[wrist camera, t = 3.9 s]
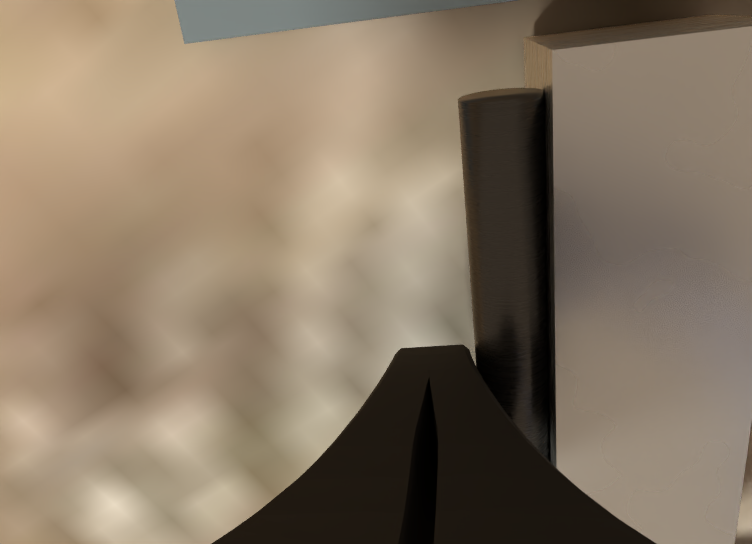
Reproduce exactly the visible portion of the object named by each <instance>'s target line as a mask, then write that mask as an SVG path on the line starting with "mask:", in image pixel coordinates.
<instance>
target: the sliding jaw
mask: <svg viewBox="0 0 752 544" xmlns="http://www.w3.org/2000/svg"><path fill="white" fill-rule="evenodd" d="M524 72H525V88H508V89H497V90H489V91H482V92H477V93H472V94H468V95H465V96H462V97H460V98H459V99H458V106H459V121H460V135H461V150H462V164H463V179H464V193H465V208H466V223H467V237H468V252H469V266H470V281H471V295H472V310H473V324H474V339H475V353H476V367H477V369H478V371H479V373H480V375H481V376H482V378H483V380H484V381H485V383H486V385H487V386H488V388H489V389H490V391H491V392H492V394H493V395H494V396H495V398H496V399H497V401H498V402H499V404H500V405H501V406H502V408H503V409H504V410H505V412H506V413H507V414H508V416H509V417H510V418H511V419H512V421H513V422H514V423H515V424H516V426H517V427H518V428H519V429H520V430H521V431H522V433H523V434H524V435H525V436H526V437H527V438H528V440H529V441H530V442H531V443H532V444H533V445H534V446H535V447H536V448H537V449H538V450H539V451H540V452H541V454H542V455H543V456H544V457H545V458H547V459H548V460H549V461H550V462H551V463H552V464H553V465H554V466H555V467H556V468H557V469H558V470H559V471H560V472H561V473H562V474H563V475H564V476H566V477H567V478H568V479H569V480H570V481H571V482H572V483H573V484H575V485H576V486H577V487H578V488H579V489H580V490H581V491H583V492H584V493H585V494H587V495H588V496H589V497H591V498H592V499H593V500H595V501H596V502H597V503H598V504H600V505H601V506H602V507H604V508H605V509H606V510H608V511H609V512H610V513H612V514H613V515H614V516H615V517H617V518H618V519H620V520H621V521H623V522H624V523H626V524H627V525H629V526H630V527H632V528H633V529H635V530H636V531H638V532H639V533H641V534H642V535H644V536H646V537H647V538H649V539H650V540H652V541H653V542H655V543H656V544H735V538H736V531H737V524H738V517H739V509H740V502H741V495H742V488H743V481H744V473H745V466H746V459H747V452H748V444H749V437H750V430H751V423H752V16H733V15H715V14H712V15H704V16H695V17H687V18H679V19H671V20H663V21H655V22H647V23H638V24H630V25H622V26H614V27H606V28H598V29H590V30H582V31H573V32H565V33H557V34H549V35H541V36H533V37H525V38H524Z"/></svg>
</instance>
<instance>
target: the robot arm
mask: <svg viewBox="0 0 752 544" xmlns="http://www.w3.org/2000/svg"><path fill="white" fill-rule="evenodd" d="M212 544H656V543H655V542H653V541H652V540H650V539H649V538H647V537H646V536H644V535H642V534H641V533H639V532H638V531H636V530H635V529H633V528H632V527H630V526H629V525H627V524H626V523H624V522H623V521H621V520H620V519H618V518H617V517H615V516H614V515H613V514H612V513H610V512H609V511H608V510H606V509H605V508H604V507H602V506H601V505H600V504H598V503H597V502H596V501H595V500H593V499H592V498H591V497H589V496H588V495H587V494H585V493H584V492H583V491H581V490H580V489H579V488H578V487H577V486H576V485H575V484H573V483H572V482H571V481H570V480H569V479H568V478H567V477H566V476H564V475H563V474H562V473H561V472H560V471H559V470H558V469H557V468H556V467H555V466H554V465H553V464H552V463H551V462H550V461H549V460H548V459H547V458H545V457H544V456H543V455H542V454H541V452H540V451H539V450H538V449H537V448H536V447H535V446H534V445H533V444H532V443H531V442H530V441H529V440H528V438H527V437H526V436H525V435H524V434H523V433H522V431H521V430H520V429H519V428H518V427H517V426H516V424H515V423H514V422H513V421H512V419H511V418H510V417H509V416H508V414H507V413H506V412H505V410H504V409H503V408H502V406H501V405H500V404H499V402H498V401H497V399H496V398H495V396H494V395H493V394H492V392H491V391H490V389H489V388H488V386H487V385H486V383H485V381H484V380H483V378H482V376H481V375H480V373H479V371H478V369H477V367H476V366H475V363H474V361H473V359H472V357H471V354H470V350H469V349H468V348H467V347H465V346H464V345H448V346H432V347H415V348H401V349H400V350H399V351H398V352H397V353H396V354H395V356H394V358H393V360H392V361H391V363H390V365H389V367H388V368H387V370H386V372H385V373H384V375H383V377H382V378H381V380H380V381H379V383H378V384H377V386H376V387H375V389H374V390H373V392H372V393H371V395H370V396H369V397H368V399H367V400H366V402H365V403H364V404H363V406H362V407H361V409H360V410H359V411H358V413H357V414H356V415H355V417H354V418H353V419H352V420H351V422H350V423H349V424H348V425H347V426H346V428H345V429H344V430H343V431H342V433H341V434H340V435H339V436H338V437H337V439H336V440H335V441H334V442H333V443H332V445H331V446H330V447H329V448H328V449H327V450H326V451H325V452H324V453H323V454H322V455H321V456H320V458H319V459H318V460H317V461H316V462H315V463H314V464H313V465H312V466H311V467H310V468H309V469H308V470H307V471H306V472H305V473H304V474H303V475H302V476H300V477H299V478H298V479H297V480H296V481H295V482H294V483H292V484H291V485H290V486H289V487H288V488H286V489H285V490H284V491H283V492H281V493H280V494H279V495H278V496H277V497H275V498H274V499H273V500H272V501H270V502H269V503H268V504H267V505H266V506H264V507H263V508H262V509H261V510H259V511H258V512H257V513H255V514H254V515H253V516H251V517H250V518H249V519H247V520H246V521H244V522H243V523H242V524H240V525H239V526H237V527H236V528H235V529H233V530H232V531H230V532H229V533H227V534H226V535H224V536H223V537H221V538H220V539H218V540H216V541H215V542H213V543H212Z"/></svg>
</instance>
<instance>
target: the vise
mask: <svg viewBox="0 0 752 544" xmlns="http://www.w3.org/2000/svg"><path fill="white" fill-rule="evenodd" d="M509 1H516V0H175V4H176V9H177V13H178V17H179V22H180V26H181V30H182V35H183V39H184V44H187V43H195V42H203V41H210V40H218V39H226V38H233V37H241V36H248V35H256V34H264V33H271V32H279V31H287V30H294V29H302V28H310V27H317V26H325V25H333V24H340V23H348V22H356V21H363V20H371V19H379V18H386V17H394V16H402V15H409V14H417V13H425V12H432V11H440V10H448V9H455V8H463V7H471V6H478V5H486V4H493V3H501V2H509Z"/></svg>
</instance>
